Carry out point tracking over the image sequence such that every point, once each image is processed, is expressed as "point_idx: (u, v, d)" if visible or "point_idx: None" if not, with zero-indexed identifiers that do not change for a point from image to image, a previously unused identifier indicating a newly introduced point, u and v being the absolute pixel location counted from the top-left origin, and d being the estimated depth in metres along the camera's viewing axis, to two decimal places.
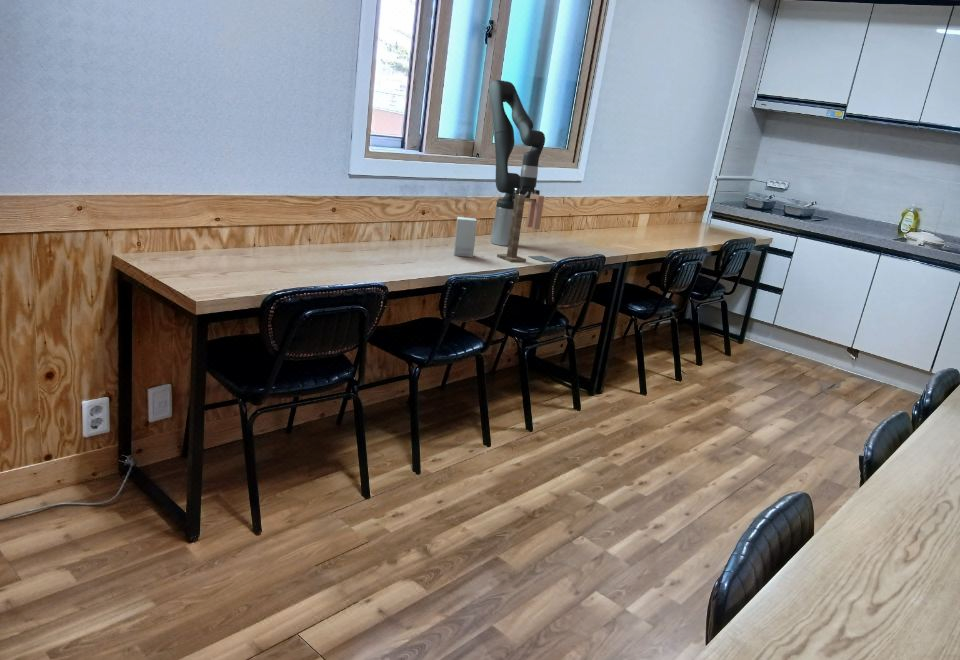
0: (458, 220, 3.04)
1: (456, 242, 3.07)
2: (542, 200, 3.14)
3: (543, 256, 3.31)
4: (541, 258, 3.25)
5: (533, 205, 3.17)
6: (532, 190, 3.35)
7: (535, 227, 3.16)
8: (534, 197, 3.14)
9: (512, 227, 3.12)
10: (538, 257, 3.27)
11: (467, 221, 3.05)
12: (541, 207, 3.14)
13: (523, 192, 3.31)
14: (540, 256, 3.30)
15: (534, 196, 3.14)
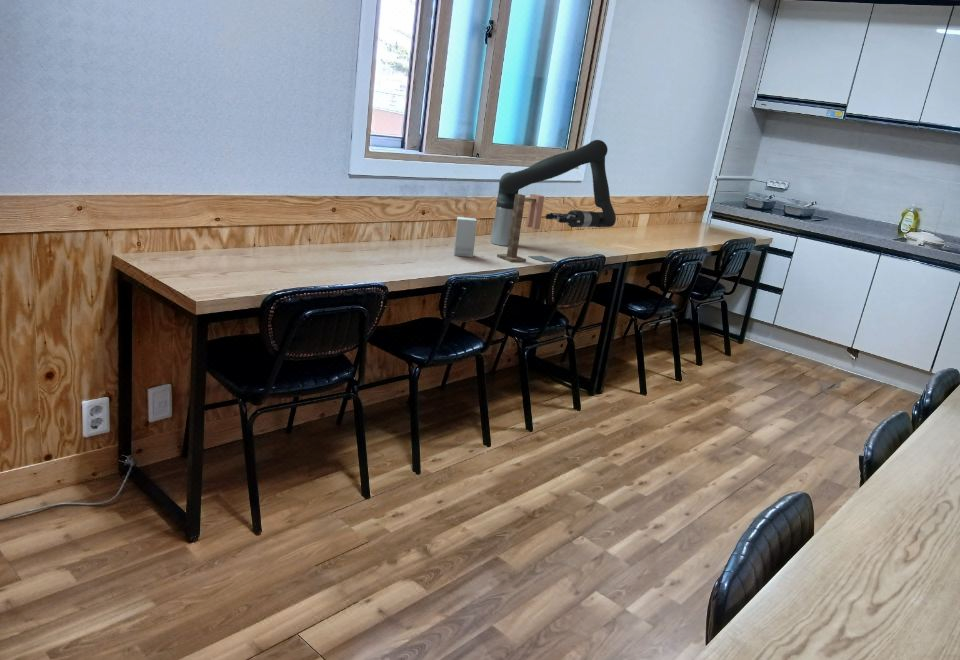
0: (458, 220, 3.04)
1: (456, 242, 3.07)
2: (542, 200, 3.14)
3: (543, 256, 3.31)
4: (541, 258, 3.25)
5: (533, 205, 3.17)
6: None
7: (535, 227, 3.16)
8: (534, 197, 3.14)
9: (512, 227, 3.12)
10: (538, 257, 3.27)
11: (467, 221, 3.05)
12: (541, 207, 3.14)
13: None
14: (540, 256, 3.30)
15: (534, 196, 3.14)
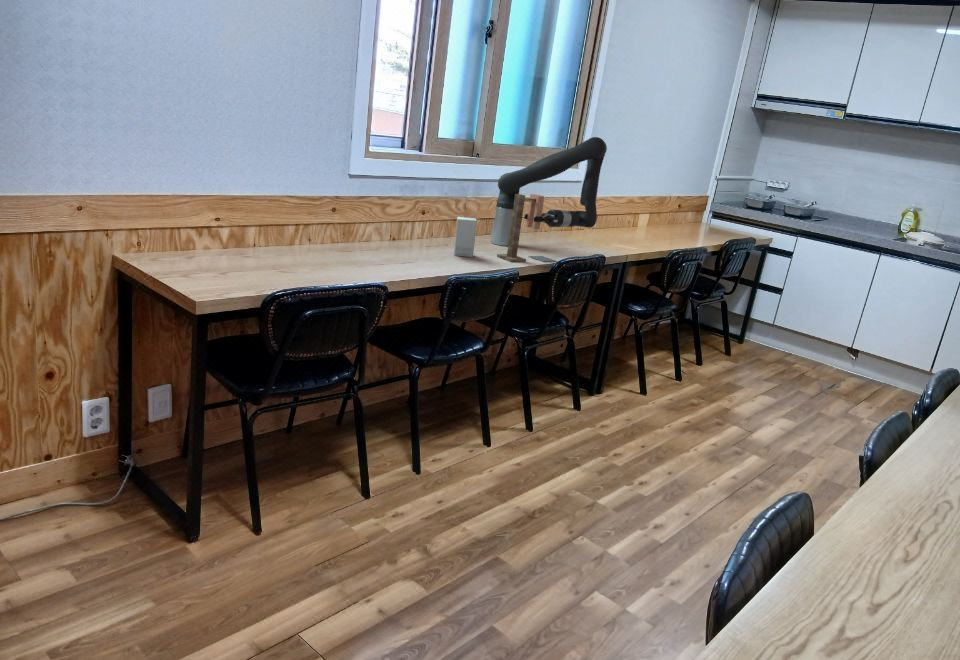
0: (458, 220, 3.05)
1: (456, 242, 3.07)
2: (542, 200, 3.14)
3: (543, 256, 3.31)
4: (541, 258, 3.25)
5: (533, 205, 3.17)
6: None
7: (535, 227, 3.16)
8: (534, 197, 3.14)
9: (512, 227, 3.12)
10: (538, 257, 3.27)
11: (467, 221, 3.05)
12: (541, 207, 3.14)
13: None
14: (540, 256, 3.30)
15: (534, 196, 3.14)
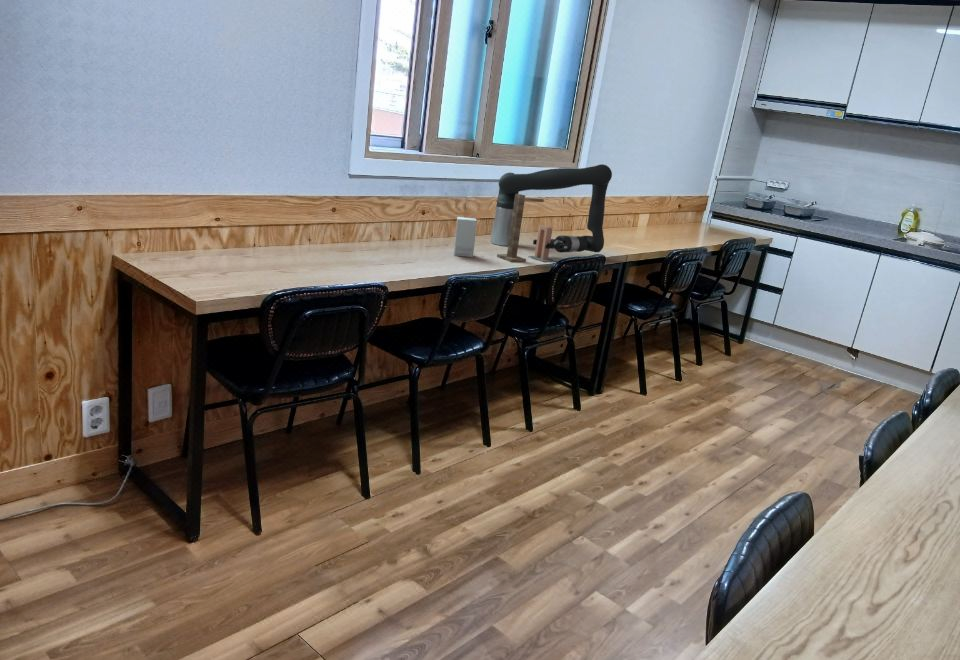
0: (458, 220, 3.04)
1: (456, 242, 3.07)
2: (551, 231, 3.22)
3: None
4: None
5: (542, 236, 3.25)
6: None
7: (543, 257, 3.24)
8: (542, 228, 3.22)
9: (512, 227, 3.12)
10: (538, 257, 3.27)
11: (467, 221, 3.05)
12: (549, 238, 3.23)
13: (559, 247, 3.27)
14: None
15: (542, 227, 3.22)
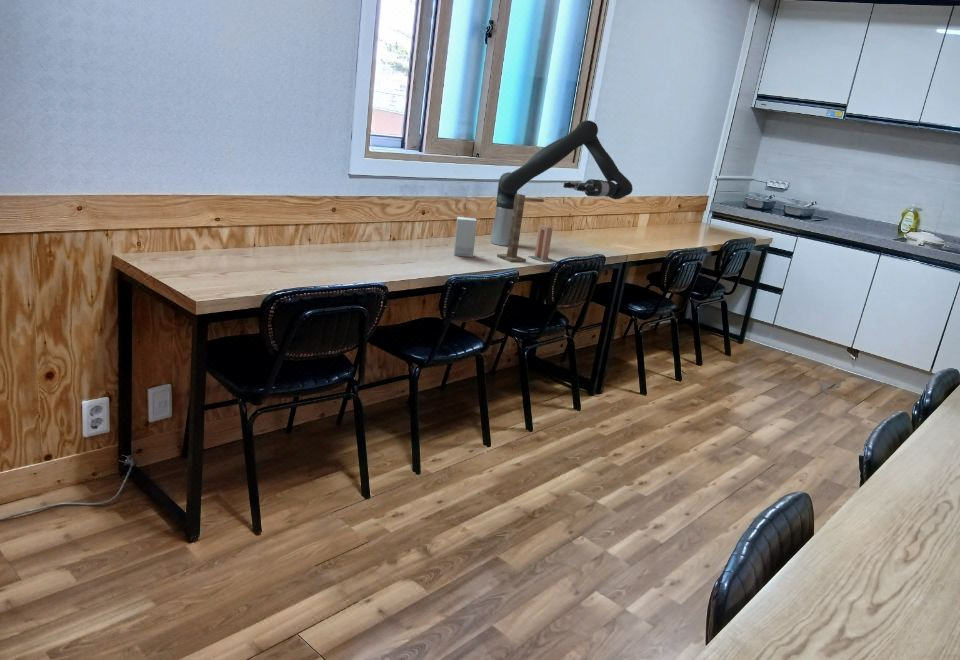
0: (458, 220, 3.04)
1: (456, 242, 3.07)
2: (551, 231, 3.22)
3: None
4: None
5: (542, 236, 3.25)
6: None
7: (543, 257, 3.24)
8: (543, 228, 3.22)
9: (512, 227, 3.12)
10: (538, 257, 3.27)
11: (467, 221, 3.05)
12: (549, 238, 3.23)
13: None
14: None
15: (543, 227, 3.22)
